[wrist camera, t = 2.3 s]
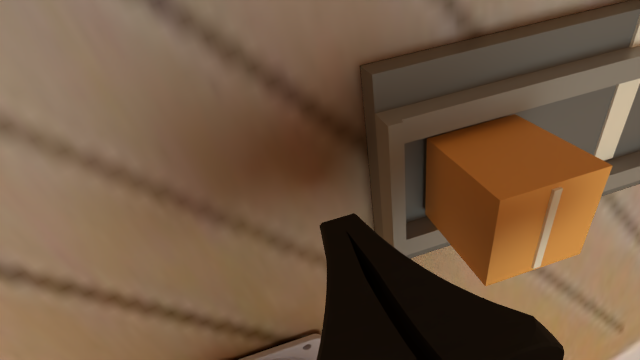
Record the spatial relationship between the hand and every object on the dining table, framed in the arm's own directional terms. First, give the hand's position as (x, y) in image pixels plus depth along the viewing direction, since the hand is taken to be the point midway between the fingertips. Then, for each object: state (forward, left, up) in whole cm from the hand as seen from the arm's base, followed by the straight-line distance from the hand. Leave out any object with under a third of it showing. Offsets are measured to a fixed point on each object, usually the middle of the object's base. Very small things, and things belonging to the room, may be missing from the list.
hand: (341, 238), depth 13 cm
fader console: (+10, 0, -3) cm, 11 cm away
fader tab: (+7, 0, -2) cm, 7 cm away
